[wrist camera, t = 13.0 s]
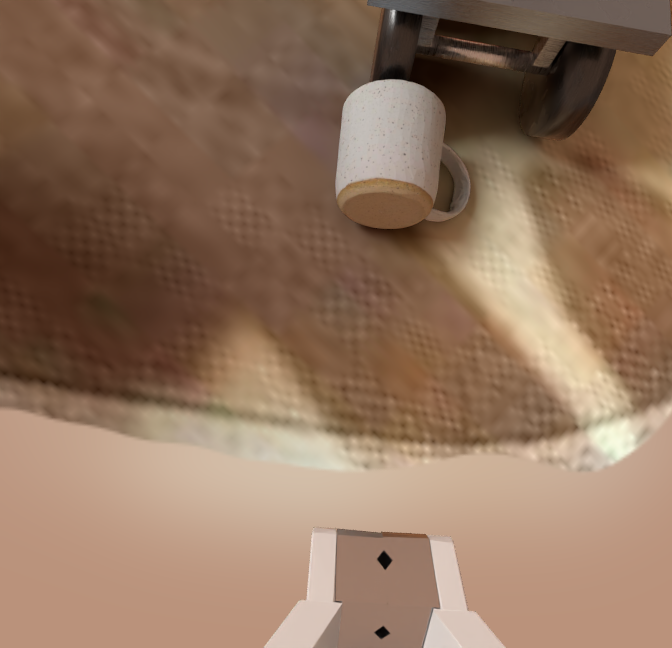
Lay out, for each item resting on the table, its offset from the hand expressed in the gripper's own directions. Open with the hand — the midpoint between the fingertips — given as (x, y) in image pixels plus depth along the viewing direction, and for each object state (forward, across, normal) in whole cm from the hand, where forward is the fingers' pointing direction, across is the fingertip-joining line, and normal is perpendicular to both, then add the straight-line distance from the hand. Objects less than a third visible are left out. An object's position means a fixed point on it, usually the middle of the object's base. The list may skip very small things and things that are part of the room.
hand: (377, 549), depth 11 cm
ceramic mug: (+33, +3, 0) cm, 33 cm away
